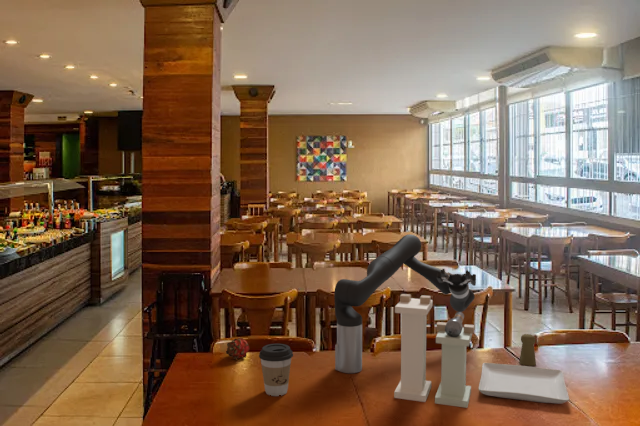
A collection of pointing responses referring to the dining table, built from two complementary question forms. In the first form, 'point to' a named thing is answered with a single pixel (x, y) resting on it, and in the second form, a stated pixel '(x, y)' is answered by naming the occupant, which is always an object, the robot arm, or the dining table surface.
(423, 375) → the tall stand
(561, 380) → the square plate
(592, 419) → the dining table surface
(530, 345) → the olive pepper mill
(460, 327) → the grey bulb-ended bar
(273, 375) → the coffee cup
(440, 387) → the low stand
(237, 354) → the dragon fruit
